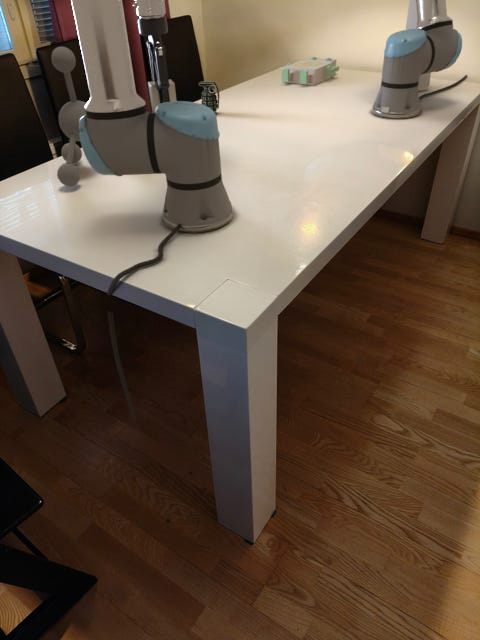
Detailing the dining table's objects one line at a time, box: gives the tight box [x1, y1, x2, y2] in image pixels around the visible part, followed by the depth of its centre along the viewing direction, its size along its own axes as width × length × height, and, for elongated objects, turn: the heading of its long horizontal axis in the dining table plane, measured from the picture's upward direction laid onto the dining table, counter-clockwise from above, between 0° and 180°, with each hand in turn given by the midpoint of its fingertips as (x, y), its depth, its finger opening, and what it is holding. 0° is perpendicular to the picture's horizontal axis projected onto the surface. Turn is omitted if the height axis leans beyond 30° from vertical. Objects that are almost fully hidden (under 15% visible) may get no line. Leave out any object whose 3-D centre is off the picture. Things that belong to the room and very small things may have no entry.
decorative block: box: [281, 56, 340, 86], centre depth 204 cm, size 26×6×20 cm
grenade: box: [197, 81, 220, 114], centre depth 169 cm, size 7×6×10 cm
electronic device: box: [405, 0, 432, 92], centre depth 176 cm, size 12×8×30 cm, turn 105°
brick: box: [147, 78, 178, 113], centre depth 139 cm, size 7×5×11 cm
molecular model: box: [50, 46, 88, 187], centre depth 124 cm, size 24×22×30 cm
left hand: (164, 110), depth 140 cm, fingers closed on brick, 5 cm apart
